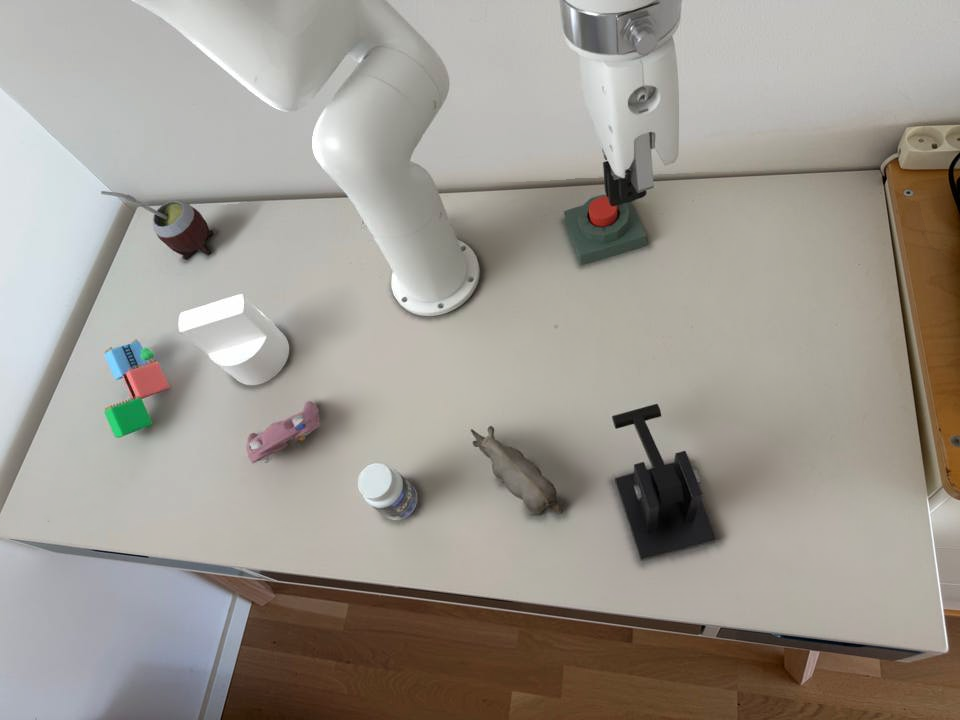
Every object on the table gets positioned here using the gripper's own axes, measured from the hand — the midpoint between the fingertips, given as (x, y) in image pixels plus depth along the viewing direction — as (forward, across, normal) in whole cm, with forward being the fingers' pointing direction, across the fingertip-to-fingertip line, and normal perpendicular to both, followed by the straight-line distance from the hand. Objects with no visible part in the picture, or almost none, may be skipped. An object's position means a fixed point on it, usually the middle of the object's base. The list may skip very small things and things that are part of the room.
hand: (625, 195), depth 57 cm
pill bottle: (+27, -12, +32) cm, 44 cm away
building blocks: (+27, +13, +67) cm, 74 cm away
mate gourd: (+27, +38, +59) cm, 75 cm away
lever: (+20, -17, +3) cm, 27 cm away
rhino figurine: (+27, -13, +18) cm, 35 cm away
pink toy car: (+27, 0, +45) cm, 53 cm away
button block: (+27, +17, -2) cm, 32 cm away
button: (+23, +17, -2) cm, 29 cm away
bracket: (+27, -21, +3) cm, 34 cm away
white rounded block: (+27, +14, +49) cm, 58 cm away
